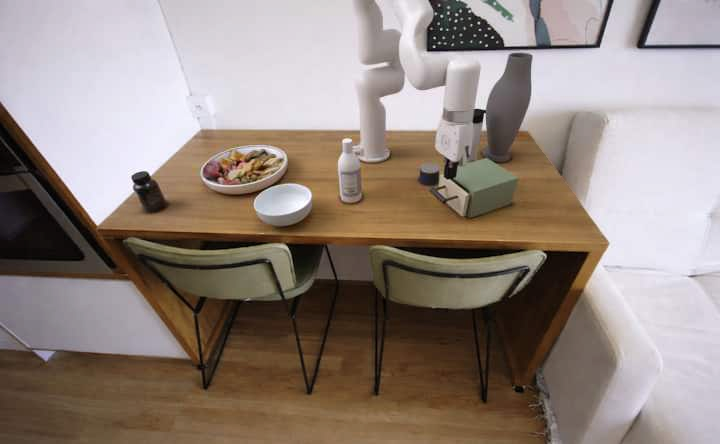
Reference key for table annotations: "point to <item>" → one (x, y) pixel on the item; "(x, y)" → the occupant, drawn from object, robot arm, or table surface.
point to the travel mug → (476, 133)
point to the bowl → (244, 169)
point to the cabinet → (486, 185)
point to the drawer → (452, 194)
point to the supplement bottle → (148, 192)
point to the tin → (429, 173)
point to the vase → (508, 106)
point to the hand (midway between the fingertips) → (449, 177)
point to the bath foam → (349, 174)
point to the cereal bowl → (283, 204)
